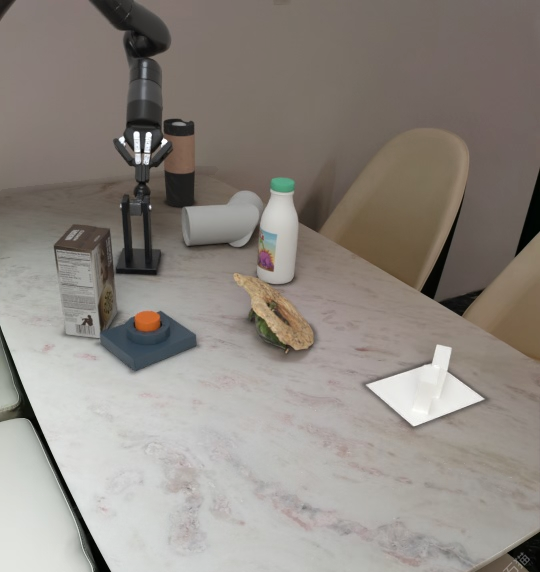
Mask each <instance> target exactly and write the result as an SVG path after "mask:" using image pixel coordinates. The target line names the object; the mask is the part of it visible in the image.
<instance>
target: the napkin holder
mask: <svg viewBox="0 0 540 572" xmlns="http://www.w3.org/2000/svg"><path fill="white" fill-rule="evenodd" d="M452 351H453V348H452V347H451V346H445V345H443V344H442V345H441V344H436V347H435V350H434V352H433V353H434V354H433V356H432V361H431V363H428V364H423V365H422V366H419V367H417V368H413V369H410V370H407V371H404V372H401V373H398V374H395V375H391V376H389V377H385V378H382V379H378V380H377V381H373V382H370V383H367V384H365V386H366V387H367V388H368V389H370V390H371V391H372V392H373V393H374V394H375V395H376V396H378V398H380V399H381V400H382V401H383V402H384V403H386V404H387V405H388V406H389V407H390V408H392V410H394V411H395V412H396V413H397V414H398V415H399V416H401V417H402V418H403V419H404V420H406V421H407V422H408V424H410V425H411V426H412V427H416V426H419V425H421V424H424V423H427V422H430V421H432V420H435V419H437V418H439V417H443V416H446V415H448V414H450V413H453V412H456V411H458V410H461V409H463V408H466V407H468V406H471V405H474V404H477V403H479V402H481V401H484V400H485V398H484V397H483V396H481V395H480V394H479V393H477V392H476V391H475V390H473V389H472V388H470V387H469V386H468V385H466V384H465V383H464V382H462V380H459V379H458V378H457V377H456V376H454V375H453V374H451V373H450V372H448V370H449V365H450V359H451V355H452Z"/></svg>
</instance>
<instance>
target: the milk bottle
mask: <svg viewBox="0 0 540 572" xmlns="http://www.w3.org/2000/svg"><path fill="white" fill-rule="evenodd" d="M269 188H270V190H269V191H270V197H269V200H268V202H267V204H266V206H265V208H264V211H263V214H262V217H261V219H260V221H259V222H260V223H259V231H258V245H257V259H256V260H257V261H256V276H257V278H259V279H261V280H263V281H264V282H266V283H268V284H272V285H283V284H288V283H290V282H291V281H292V280H293V278H294V276H295V269H296V258H297V249H298V240H299V239H298V238H299V216H298V213H297V210H296V206H295V204H294V197H293V196H294V194H295V188H296V181H295V180H294V179H292V178H289V177H281V176H280V177H279V176H278V177H273V178H272V179H271V180H270V187H269Z"/></svg>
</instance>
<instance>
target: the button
mask: <svg viewBox="0 0 540 572" xmlns="http://www.w3.org/2000/svg"><path fill="white" fill-rule="evenodd" d="M134 316H135V328H136V329H137V330H140V331H144V332H146V331H154V330H157V329H159V328H160V315H159V314H158V313H156V311H153V310H142V311H139V312H137V313H136V314H135V315H134Z"/></svg>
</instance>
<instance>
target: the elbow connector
mask: <svg viewBox="0 0 540 572" xmlns="http://www.w3.org/2000/svg"><path fill="white" fill-rule="evenodd" d="M264 210H265V208H264V203H263V201H262V199H261V197H260V196H258V194H256V193H255V192H253V191H251V190H240V191H238V192H236V193H235V194H233V196H232V197H231V198H230V199H229V201H228V202H227V204H212V205H209V204H208V205H191V206H188V207H182V210H181V231H182V236H183V241H184V243H185V245H186V246H187V247H189V246H190V247H191V246H202V245H203V246H205V245H215V244H229V246H232V247H233V248H234V247H235V248H240V247H243V246H245V245H246V244H248V243H249V241H250V239H251V237H252V235H253V234H254V232H255V230H256V228H257V226H258V224H260V223H259V222H261V217H262V214H263V212H264Z"/></svg>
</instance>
